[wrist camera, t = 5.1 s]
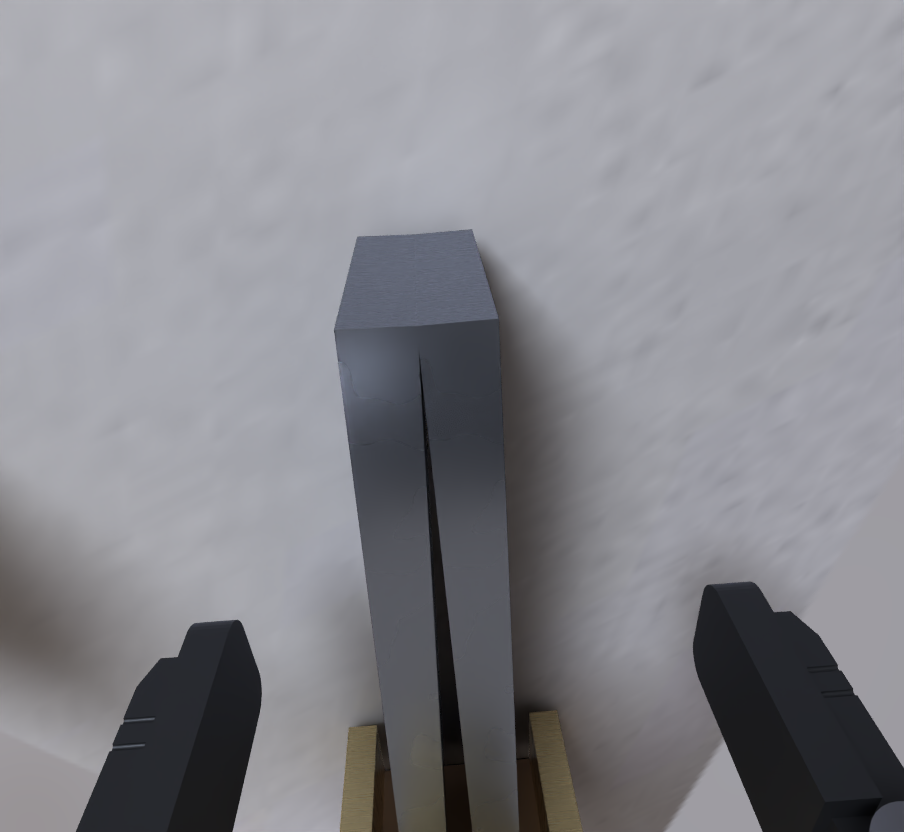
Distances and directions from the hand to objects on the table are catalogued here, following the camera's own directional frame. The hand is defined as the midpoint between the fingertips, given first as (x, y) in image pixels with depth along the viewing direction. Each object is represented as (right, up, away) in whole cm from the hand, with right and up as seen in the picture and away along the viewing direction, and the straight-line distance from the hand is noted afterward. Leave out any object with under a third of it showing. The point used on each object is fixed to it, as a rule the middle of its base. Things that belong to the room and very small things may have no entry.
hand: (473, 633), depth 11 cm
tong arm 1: (0, 0, +4) cm, 4 cm away
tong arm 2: (-1, 0, +4) cm, 4 cm away
